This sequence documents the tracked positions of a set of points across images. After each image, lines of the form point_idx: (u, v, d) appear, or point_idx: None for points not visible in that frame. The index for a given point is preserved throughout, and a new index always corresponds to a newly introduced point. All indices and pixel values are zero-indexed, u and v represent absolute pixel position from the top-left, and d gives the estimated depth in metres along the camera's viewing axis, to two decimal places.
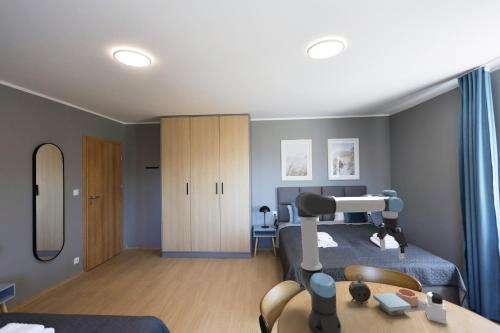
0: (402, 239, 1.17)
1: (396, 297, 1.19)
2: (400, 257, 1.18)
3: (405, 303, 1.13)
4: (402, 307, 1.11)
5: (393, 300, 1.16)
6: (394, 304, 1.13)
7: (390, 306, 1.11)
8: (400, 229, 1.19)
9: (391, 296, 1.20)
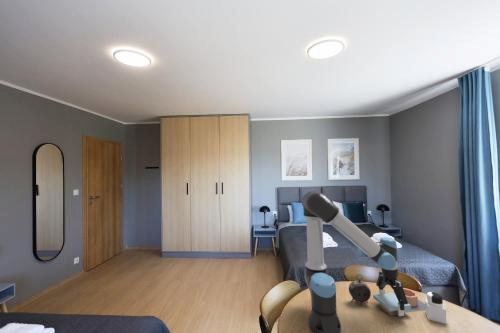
0: (402, 295, 1.09)
1: (396, 297, 1.19)
2: (400, 314, 1.10)
3: None
4: None
5: (393, 300, 1.16)
6: (394, 304, 1.13)
7: (390, 306, 1.11)
8: (400, 284, 1.11)
9: (391, 296, 1.20)
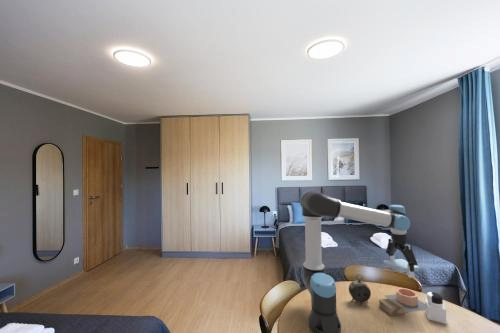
0: (411, 257, 1.14)
1: (406, 262, 1.24)
2: (410, 275, 1.15)
3: (414, 266, 1.18)
4: None
5: (403, 264, 1.21)
6: (404, 267, 1.18)
7: (400, 268, 1.16)
8: (409, 246, 1.16)
9: (401, 261, 1.25)
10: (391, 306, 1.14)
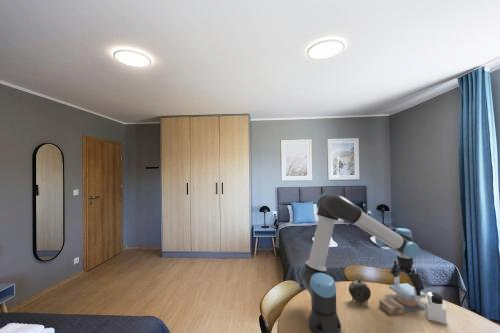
0: (418, 281, 1.16)
1: (411, 287, 1.26)
2: (416, 299, 1.17)
3: None
4: None
5: (408, 290, 1.23)
6: (410, 293, 1.20)
7: (406, 295, 1.18)
8: (416, 271, 1.18)
9: (406, 286, 1.27)
10: (391, 306, 1.14)
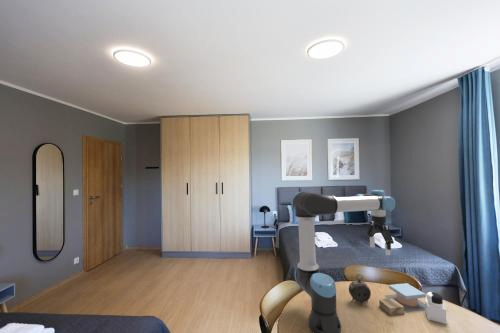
0: (388, 236, 1.24)
1: (411, 287, 1.26)
2: (386, 253, 1.25)
3: (420, 292, 1.20)
4: (417, 296, 1.18)
5: (408, 290, 1.23)
6: (410, 293, 1.20)
7: (406, 295, 1.18)
8: (387, 227, 1.26)
9: (406, 286, 1.27)
10: (391, 306, 1.14)
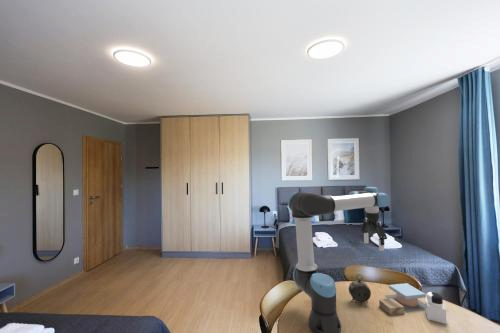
0: (382, 232, 1.26)
1: (411, 287, 1.26)
2: (380, 249, 1.27)
3: (420, 292, 1.20)
4: (417, 296, 1.18)
5: (408, 290, 1.23)
6: (410, 293, 1.20)
7: (406, 295, 1.18)
8: (380, 223, 1.28)
9: (406, 286, 1.27)
10: (391, 306, 1.14)
